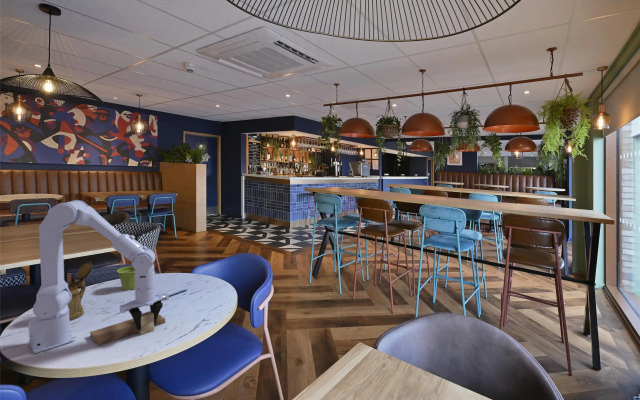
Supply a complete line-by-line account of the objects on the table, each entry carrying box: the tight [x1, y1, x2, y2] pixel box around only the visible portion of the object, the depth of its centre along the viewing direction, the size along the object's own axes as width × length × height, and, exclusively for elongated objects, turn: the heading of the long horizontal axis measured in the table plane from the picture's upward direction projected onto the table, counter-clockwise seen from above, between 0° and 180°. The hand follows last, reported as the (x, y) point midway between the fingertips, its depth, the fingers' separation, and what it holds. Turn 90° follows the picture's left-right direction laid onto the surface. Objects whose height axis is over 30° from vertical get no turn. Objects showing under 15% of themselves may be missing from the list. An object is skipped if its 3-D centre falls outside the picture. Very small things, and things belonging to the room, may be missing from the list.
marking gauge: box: [137, 311, 155, 336], centre depth 107 cm, size 4×8×6 cm, turn 50°
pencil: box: [169, 289, 188, 298], centre depth 135 cm, size 1×1×15 cm
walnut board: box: [89, 313, 166, 346], centre depth 106 cm, size 20×8×2 cm, turn 140°
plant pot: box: [116, 266, 135, 291], centre depth 142 cm, size 9×9×9 cm
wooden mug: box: [67, 260, 93, 321], centre depth 116 cm, size 9×14×18 cm, turn 161°
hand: (146, 326), depth 105 cm, fingers closed on marking gauge, 4 cm apart
